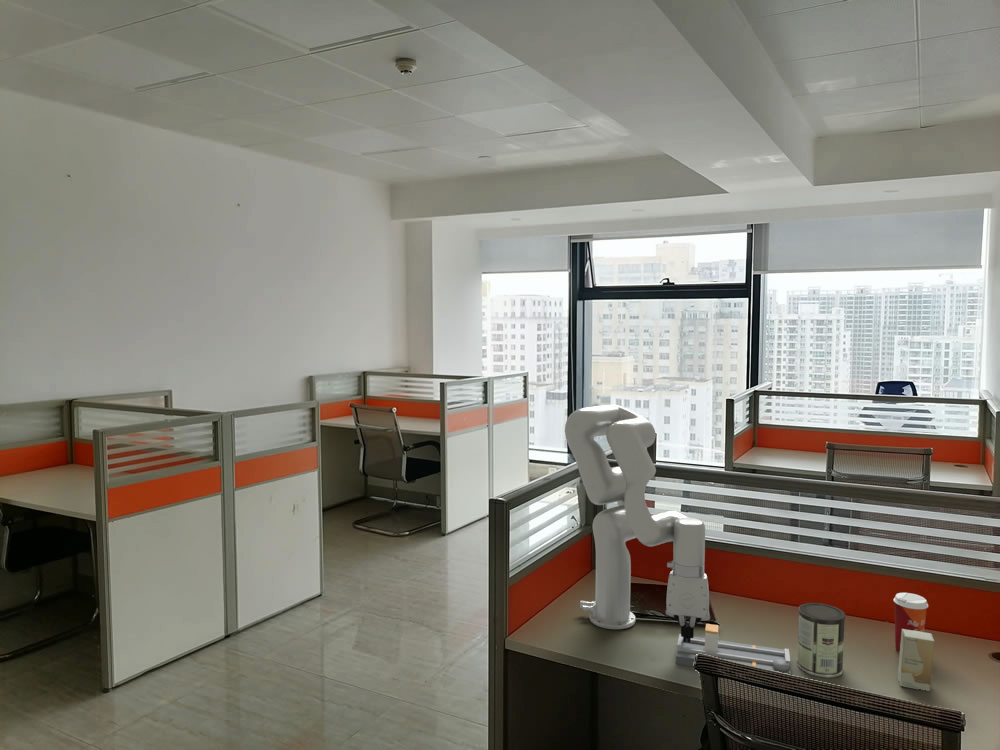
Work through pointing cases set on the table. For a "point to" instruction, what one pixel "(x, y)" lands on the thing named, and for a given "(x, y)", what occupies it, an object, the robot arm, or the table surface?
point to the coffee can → (821, 639)
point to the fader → (711, 638)
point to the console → (735, 654)
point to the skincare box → (915, 659)
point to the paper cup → (909, 614)
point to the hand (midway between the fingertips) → (687, 639)
